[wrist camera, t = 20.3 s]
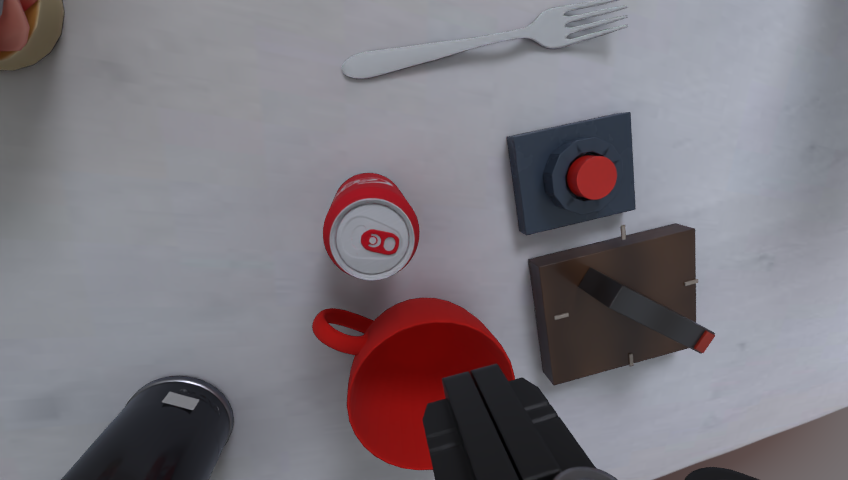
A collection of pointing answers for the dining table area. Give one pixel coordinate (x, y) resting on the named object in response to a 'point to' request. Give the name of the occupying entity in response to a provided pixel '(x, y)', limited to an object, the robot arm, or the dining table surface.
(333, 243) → the beverage can
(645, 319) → the bar knob
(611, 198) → the button box
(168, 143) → the dining table surface
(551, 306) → the control panel
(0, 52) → the cake
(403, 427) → the ceramic cup
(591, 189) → the red button
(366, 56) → the fork
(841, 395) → the dining table surface
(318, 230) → the dining table surface
